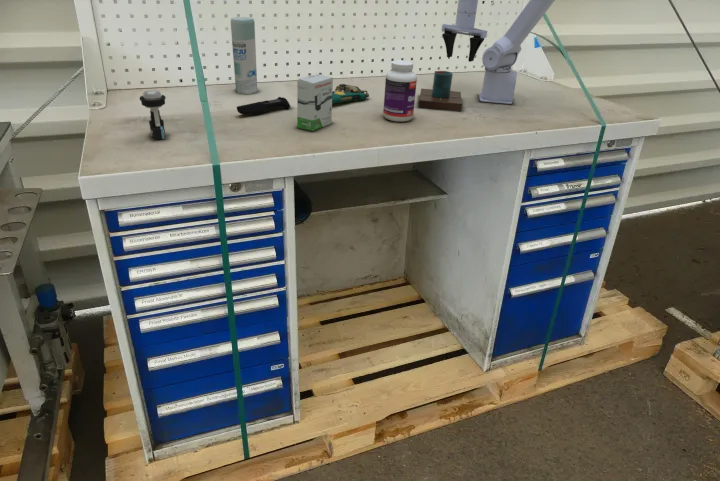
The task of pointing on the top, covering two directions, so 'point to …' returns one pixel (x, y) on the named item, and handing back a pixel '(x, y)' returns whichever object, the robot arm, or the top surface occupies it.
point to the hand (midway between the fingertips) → (460, 59)
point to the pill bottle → (400, 92)
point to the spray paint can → (244, 54)
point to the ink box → (314, 101)
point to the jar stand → (440, 101)
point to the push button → (154, 112)
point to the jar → (442, 84)
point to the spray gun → (348, 94)
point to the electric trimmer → (263, 106)
